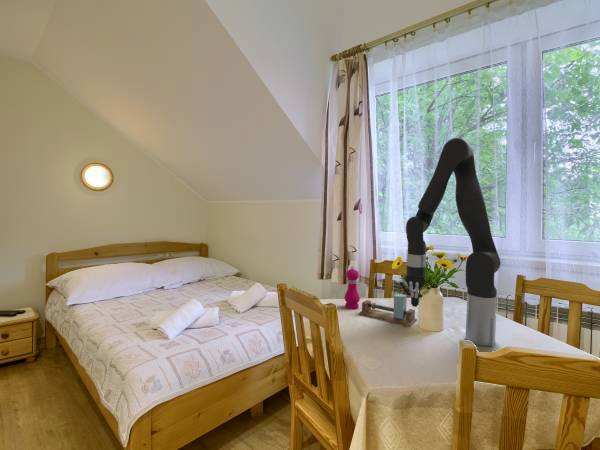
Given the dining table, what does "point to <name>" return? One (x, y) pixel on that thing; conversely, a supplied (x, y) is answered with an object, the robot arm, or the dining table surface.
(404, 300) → the sleeve
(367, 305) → the rail
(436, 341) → the dining table surface
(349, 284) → the pepper mill
